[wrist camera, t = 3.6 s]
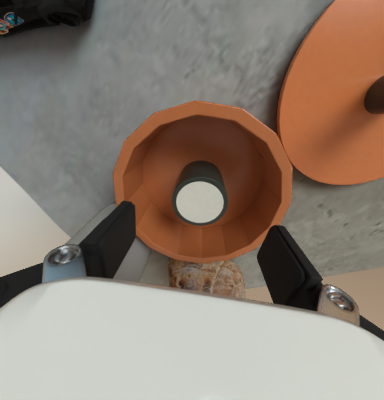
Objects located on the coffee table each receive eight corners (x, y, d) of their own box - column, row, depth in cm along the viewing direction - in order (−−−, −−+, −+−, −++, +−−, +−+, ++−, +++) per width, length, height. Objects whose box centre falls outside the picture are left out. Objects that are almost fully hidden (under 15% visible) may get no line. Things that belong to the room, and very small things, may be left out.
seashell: (246, 234, 20) (261, 334, 16) (234, 250, 28) (242, 319, 23) (166, 234, 21) (155, 328, 16) (176, 249, 29) (171, 316, 24)
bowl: (136, 94, 15) (102, 84, 10) (291, 119, 15) (333, 122, 10) (139, 220, 22) (120, 251, 17) (244, 237, 22) (255, 272, 17)
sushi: (181, 156, 17) (174, 172, 12) (227, 164, 17) (235, 182, 12) (177, 196, 19) (169, 222, 14) (217, 202, 19) (221, 230, 15)
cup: (87, 226, 23) (14, 297, 14) (117, 190, 20) (47, 253, 11) (135, 257, 25) (98, 334, 16) (168, 230, 22) (145, 307, 13)
